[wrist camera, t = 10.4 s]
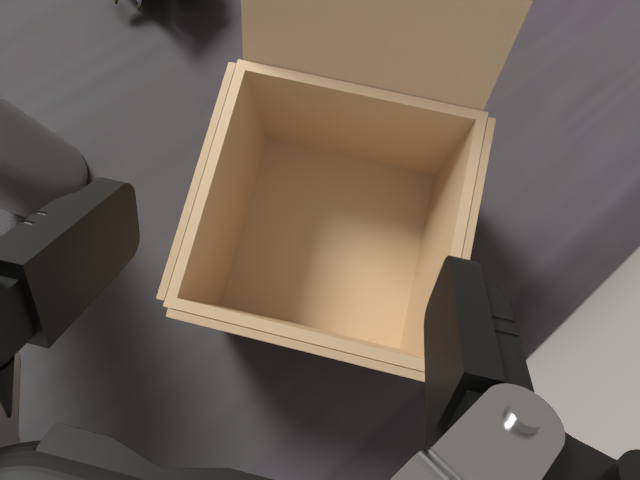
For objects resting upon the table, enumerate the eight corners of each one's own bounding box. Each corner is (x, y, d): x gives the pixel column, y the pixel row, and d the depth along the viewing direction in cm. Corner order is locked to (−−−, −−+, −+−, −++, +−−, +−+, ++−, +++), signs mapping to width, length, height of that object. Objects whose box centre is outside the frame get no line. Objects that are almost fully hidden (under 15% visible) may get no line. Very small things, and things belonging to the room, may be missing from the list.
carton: (409, 366, 44) (446, 387, 30) (205, 315, 45) (151, 313, 31) (447, 174, 47) (496, 114, 33) (258, 132, 48) (230, 57, 35)
